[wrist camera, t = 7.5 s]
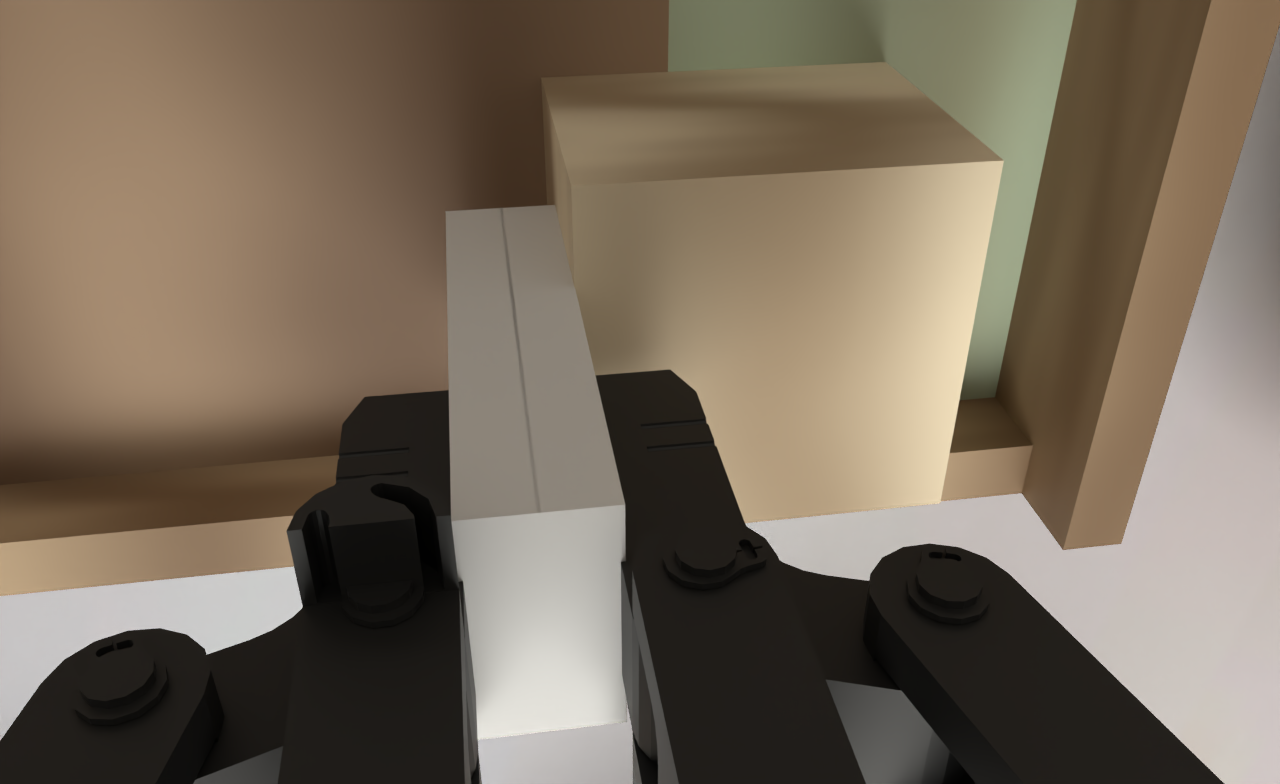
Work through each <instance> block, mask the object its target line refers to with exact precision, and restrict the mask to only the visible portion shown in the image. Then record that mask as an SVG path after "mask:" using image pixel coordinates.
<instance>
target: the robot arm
mask: <svg viewBox="0 0 1280 784" xmlns="http://www.w3.org/2000/svg"><path fill="white" fill-rule="evenodd" d="M446 262H447V319H448V375H449V390H444V391H432V392H419V393H407V394H394V395H382V396H369V397H364V398H363V399H362V401H361V402H360V403H359V404H358V405H357V407H356V408H355V409H354V410H353V412H352V413H351V414H350V415H349V417H348V418H347V419H346V420H345V421H344V423H343V424H342V431H341V439H340V447H339V459H338V463H337V471H336V484H335V485H334V486H332V487H329V488H327V489H325V490H323V491H321V492H319V493H316V494H315V495H314V496H313V497H312V498H310V499H309V500H308V501H307V502H306V503H305V504H303V505H302V506H301V507H300V508H299V509H298V510H297V511H296V512H295V514H294V516H293V518H292V520H291V522H290V524H289V526H288V529H287V531H286V532H287V536H288V541H289V545H290V550H291V554H292V559H293V564H294V568H295V573H296V577H297V582H298V586H299V591H300V595H301V600H302V605H303V608H302V609H301V610H300V611H299V612H298V613H297V614H296V615H295V616H294V617H293V618H291V619H289V620H288V621H286V622H285V623H283V624H282V625H280V626H278V627H277V628H275V629H274V630H272V631H270V632H267V633H265V634H263V635H260V636H258V637H256V638H253V639H251V640H249V641H246V642H243V643H240V644H237V645H234V646H231V647H228V648H225V649H222V650H219V651H217V652H214V653H211V654H208V655H206V652H205V649H204V648H203V647H202V646H200V645H199V644H198V643H197V642H195V641H194V640H193V639H192V638H190V637H189V636H188V635H186V634H182V633H178V632H173V631H169V630H165V629H160V628H159V629H146V630H133V631H126V632H123V633H120V634H117V635H114V636H111V637H108V638H104V639H101V640H98V641H95V642H93V643H92V644H90V645H88V646H87V647H85V648H83V649H82V650H80V651H78V652H77V653H75V654H73V655H72V656H70V657H68V658H67V659H65V660H64V661H63V662H62V663H61V664H60V665H59V666H58V667H57V668H56V669H55V670H54V671H53V672H52V673H51V674H50V675H49V676H48V677H47V678H46V679H45V680H44V681H43V682H42V683H41V685H40V686H39V687H38V689H37V690H36V692H35V693H34V694H33V696H32V697H31V699H30V700H29V701H28V703H27V704H26V706H25V707H24V708H23V710H22V711H21V713H20V714H19V715H18V717H17V718H16V720H15V721H14V722H13V724H12V725H11V727H10V728H9V730H8V731H7V732H6V734H5V735H4V737H3V738H2V739H1V741H0V784H482V782H481V773H480V764H479V756H478V740H482V739H490V738H499V737H507V736H515V735H523V734H532V733H540V732H548V731H557V730H566V729H574V728H582V727H590V726H599V725H607V724H615V723H623V722H627V704H628V709H629V714H630V720H631V725H632V730H633V784H1224V783H1223V782H1222V781H1221V780H1220V779H1219V778H1218V777H1217V776H1216V775H1215V774H1214V773H1213V772H1212V771H1211V770H1210V769H1209V768H1208V767H1206V766H1205V765H1204V764H1203V763H1202V762H1201V761H1200V760H1199V759H1198V758H1197V757H1196V756H1195V755H1194V754H1193V753H1192V752H1191V751H1190V750H1189V749H1188V748H1187V747H1186V746H1185V745H1184V744H1183V743H1182V742H1181V741H1180V740H1179V739H1178V738H1177V737H1176V736H1175V735H1174V734H1173V733H1172V732H1171V731H1170V730H1169V729H1168V728H1166V727H1165V726H1164V725H1163V724H1162V723H1161V722H1160V721H1159V720H1158V719H1157V718H1156V717H1155V716H1154V715H1153V714H1152V713H1151V712H1150V711H1149V710H1148V709H1147V708H1146V707H1145V706H1144V705H1143V704H1142V703H1141V702H1140V701H1139V700H1138V699H1137V698H1136V697H1135V696H1134V695H1133V694H1132V693H1131V692H1130V691H1129V690H1128V689H1127V688H1125V687H1124V686H1123V685H1122V684H1121V683H1120V682H1119V681H1118V680H1117V679H1116V678H1115V677H1114V676H1113V675H1112V674H1111V673H1110V672H1109V671H1108V670H1107V669H1106V668H1105V667H1104V666H1103V665H1102V664H1101V663H1100V662H1099V661H1098V660H1097V659H1096V658H1095V657H1094V656H1093V655H1092V654H1091V653H1090V652H1089V651H1088V650H1087V649H1085V648H1084V647H1083V646H1082V645H1081V644H1080V643H1079V642H1078V641H1077V640H1076V639H1075V638H1074V637H1073V636H1072V635H1071V634H1070V633H1069V632H1068V631H1067V630H1066V629H1065V628H1064V627H1063V626H1062V625H1061V624H1060V623H1059V622H1058V621H1057V620H1056V619H1055V618H1054V617H1053V616H1052V615H1051V614H1050V613H1049V612H1048V611H1047V610H1046V609H1044V608H1043V607H1042V606H1041V605H1040V604H1039V603H1038V602H1037V601H1036V600H1035V599H1034V598H1033V597H1032V596H1031V595H1030V594H1029V593H1028V592H1027V591H1026V590H1025V589H1024V588H1023V587H1022V586H1021V585H1020V584H1019V583H1018V582H1017V581H1016V580H1015V579H1014V578H1013V577H1012V576H1011V575H1010V574H1008V573H1007V572H1006V571H1004V570H1003V569H1001V568H1000V567H999V566H997V565H996V564H994V563H993V562H992V561H990V560H989V559H987V558H985V557H983V556H980V555H978V554H975V553H972V552H970V551H967V550H964V549H962V548H959V547H952V546H944V545H936V544H924V545H917V546H909V547H903V548H901V549H899V550H897V551H895V552H893V553H891V554H889V555H887V556H885V557H883V558H882V559H881V560H880V562H879V563H878V564H877V566H876V567H875V569H874V570H873V571H872V573H871V574H870V581H864V580H857V579H849V578H841V577H834V576H826V575H821V574H817V573H812V572H807V571H803V570H800V569H798V568H795V567H793V566H790V565H788V564H785V563H783V562H781V561H780V560H779V558H778V556H777V555H776V553H775V552H774V550H773V549H772V547H771V546H770V545H769V543H768V542H767V540H766V539H765V538H764V537H762V536H760V535H759V534H757V533H756V532H754V531H753V530H751V529H750V528H748V527H747V526H746V525H745V522H744V519H743V517H742V514H741V511H740V509H739V506H738V503H737V500H736V498H735V495H734V492H733V490H732V487H731V484H730V481H729V479H728V476H727V473H726V471H725V468H724V465H723V463H722V460H721V457H720V454H719V452H718V449H717V446H715V443H714V438H713V435H712V433H711V430H710V427H709V425H708V424H707V422H706V416H705V414H704V411H703V408H702V406H701V403H700V400H699V397H698V395H697V392H696V391H695V390H694V389H693V388H692V387H690V386H689V385H688V384H687V383H686V382H684V381H683V380H682V379H681V378H680V377H679V376H677V375H676V374H675V373H674V372H673V371H671V370H670V369H669V370H656V371H644V372H631V373H619V374H606V375H595V372H594V367H593V363H592V359H591V354H590V350H589V346H588V341H587V337H586V333H585V328H584V324H583V320H582V315H581V311H580V307H579V302H578V298H577V294H576V289H575V287H574V283H573V279H572V275H571V271H570V266H569V262H568V258H567V254H566V249H565V245H564V241H563V237H562V232H561V228H560V224H559V220H558V215H557V211H556V207H555V205H544V206H527V207H510V208H493V209H476V210H459V211H446Z"/></svg>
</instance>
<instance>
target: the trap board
mask: <svg viewBox="0 0 1280 784" xmlns="http://www.w3.org/2000/svg"><path fill="white" fill-rule="evenodd" d="M1279 25H1280V0H0V596H5V595H15V594H25V593H35V592H45V591H54V590H64V589H74V588H84V587H94V586H104V585H114V584H124V583H134V582H144V581H154V580H164V579H174V578H183V577H193V576H203V575H213V574H223V573H233V572H243V571H253V570H263V569H273V568H283V567H293V566H294V564H293V559H292V554H291V550H290V545H289V541H288V536H287V532H286V531H287V529H288V526H289V524H290V522H291V520H292V518H293V516H294V514H295V512H296V511H297V510H298V509H299V508H300V507H301V506H302V505H303V504H305V503H306V502H307V501H308V500H309V499H310V498H312V497H313V496H314V495H315V494H316V493H319V492H321V491H323V490H325V489H327V488H329V487H332V486H334V485H335V484H336V471H337V463H338V459H339V447H340V439H341V431H342V424H343V423H344V421H345V420H346V419H347V418H348V417H349V415H350V414H351V413H352V412H353V410H354V409H355V408H356V407H357V405H358V404H359V403H360V402H361V401H362V399H363V398H364V397H369V396H382V395H394V394H407V393H419V392H432V391H444V390H449V375H448V319H447V262H446V211H459V210H476V209H493V208H510V207H527V206H544V205H547V190H546V169H545V148H544V127H543V106H542V84H541V78H544V77H566V76H588V75H610V74H632V73H653V72H675V71H697V70H719V69H741V68H762V67H784V66H806V65H828V64H850V63H872V62H886V63H888V64H889V65H890V66H891V67H892V68H894V69H895V70H896V71H897V72H898V73H900V74H901V75H902V76H903V77H904V78H906V79H907V80H908V81H909V82H910V83H912V84H913V85H914V86H915V87H916V88H918V89H919V90H920V91H921V92H922V93H924V94H925V95H926V96H927V97H928V98H930V99H931V100H932V101H933V102H934V103H936V104H937V105H938V106H939V107H940V108H942V109H943V110H944V111H945V112H946V113H948V114H949V115H950V116H951V117H952V118H954V119H955V120H956V121H957V122H958V123H960V124H961V125H962V126H963V127H964V128H966V129H967V130H968V131H969V132H970V133H972V134H973V135H974V136H975V137H976V138H978V139H979V140H980V141H981V142H982V143H984V144H985V145H986V146H987V147H988V148H990V149H991V150H992V151H993V152H994V153H996V154H997V155H998V156H999V157H1000V158H1002V159H1003V160H1004V163H1003V168H1002V174H1001V179H1000V184H999V190H998V195H997V201H996V206H995V211H994V217H993V222H992V227H991V233H990V238H989V244H988V249H987V254H986V260H985V265H984V270H983V276H982V281H981V287H980V292H979V297H978V303H977V308H976V313H975V319H974V324H973V330H972V335H971V340H970V346H969V351H968V356H967V362H966V367H965V373H964V378H963V383H962V389H961V394H960V400H959V405H958V410H957V416H956V421H955V426H954V432H953V437H952V443H951V448H950V453H949V459H948V464H947V469H946V475H945V480H944V486H943V491H942V496H941V501H947V500H957V499H967V498H977V497H987V496H997V495H1007V494H1017V493H1022V494H1023V495H1024V497H1025V498H1026V500H1027V501H1028V502H1029V504H1030V505H1031V506H1032V508H1033V509H1034V511H1035V512H1036V513H1037V515H1038V516H1039V517H1040V519H1041V520H1042V522H1043V523H1044V524H1045V526H1046V527H1047V528H1048V530H1049V531H1050V533H1051V534H1052V535H1053V537H1054V538H1055V539H1056V541H1057V542H1058V544H1059V545H1060V546H1061V548H1062V549H1063V550H1067V549H1076V548H1085V547H1094V546H1104V545H1113V544H1121V542H1122V539H1123V536H1124V533H1125V529H1126V526H1127V523H1128V520H1129V516H1130V513H1131V510H1132V506H1133V503H1134V500H1135V497H1136V493H1137V490H1138V487H1139V484H1140V480H1141V477H1142V474H1143V470H1144V467H1145V464H1146V461H1147V457H1148V454H1149V451H1150V448H1151V444H1152V441H1153V438H1154V434H1155V431H1156V428H1157V425H1158V421H1159V418H1160V415H1161V412H1162V408H1163V405H1164V402H1165V398H1166V395H1167V392H1168V389H1169V385H1170V382H1171V379H1172V375H1173V372H1174V369H1175V366H1176V362H1177V359H1178V356H1179V353H1180V349H1181V346H1182V343H1183V339H1184V336H1185V333H1186V330H1187V326H1188V323H1189V320H1190V317H1191V313H1192V310H1193V307H1194V303H1195V300H1196V297H1197V294H1198V290H1199V287H1200V284H1201V281H1202V277H1203V274H1204V271H1205V267H1206V264H1207V261H1208V258H1209V254H1210V251H1211V248H1212V245H1213V241H1214V238H1215V235H1216V231H1217V228H1218V225H1219V222H1220V218H1221V215H1222V212H1223V208H1224V205H1225V202H1226V199H1227V195H1228V192H1229V189H1230V186H1231V182H1232V179H1233V176H1234V172H1235V169H1236V166H1237V163H1238V159H1239V156H1240V153H1241V150H1242V146H1243V143H1244V140H1245V136H1246V133H1247V130H1248V127H1249V123H1250V120H1251V117H1252V114H1253V110H1254V107H1255V104H1256V100H1257V97H1258V94H1259V91H1260V87H1261V84H1262V81H1263V78H1264V74H1265V71H1266V68H1267V64H1268V61H1269V58H1270V55H1271V51H1272V48H1273V45H1274V41H1275V38H1276V35H1277V32H1278V28H1279Z"/></svg>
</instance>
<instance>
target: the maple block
mask: <svg viewBox="0 0 1280 784" xmlns="http://www.w3.org/2000/svg"><path fill="white" fill-rule="evenodd" d="M541 84H542V106H543V127H544V148H545V169H546V190H547V205H555V207H556V211H557V215H558V220H559V224H560V228H561V232H562V237H563V241H564V245H565V249H566V254H567V258H568V262H569V266H570V271H571V275H572V279H573V283H574V287H575V289H576V294H577V298H578V302H579V307H580V311H581V315H582V320H583V324H584V328H585V333H586V337H587V341H588V346H589V350H590V354H591V359H592V363H593V367H594V372H595V375H606V374H619V373H631V372H644V371H656V370H669V369H670V370H671V371H673V372H674V373H675V374H676V375H677V376H679V377H680V378H681V379H682V380H683V381H684V382H686V383H687V384H688V385H689V386H690V387H692V388H693V389H694V390H695V391H696V392H697V395H698V397H699V400H700V403H701V406H702V408H703V411H704V414H705V416H706V422H707V424H708V425H709V427H710V430H711V433H712V435H713V438H714V443H715V446H717V449H718V452H719V454H720V457H721V460H722V463H723V465H724V468H725V471H726V473H727V476H728V479H729V481H730V484H731V487H732V490H733V492H734V495H735V498H736V500H737V503H738V506H739V509H740V511H741V514H742V517H743V519H744V522H745V523H750V522H760V521H770V520H780V519H790V518H800V517H810V516H819V515H829V514H839V513H849V512H859V511H869V510H879V509H889V508H898V507H908V506H918V505H928V504H938V503H940V502H941V496H942V491H943V486H944V480H945V475H946V469H947V464H948V459H949V453H950V448H951V443H952V437H953V432H954V426H955V421H956V416H957V410H958V405H959V400H960V394H961V389H962V383H963V378H964V373H965V367H966V362H967V356H968V351H969V346H970V340H971V335H972V330H973V324H974V319H975V313H976V308H977V303H978V297H979V292H980V287H981V281H982V276H983V270H984V265H985V260H986V254H987V249H988V244H989V238H990V233H991V227H992V222H993V217H994V211H995V206H996V201H997V195H998V190H999V184H1000V179H1001V174H1002V168H1003V163H1004V160H1003V159H1002V158H1000V157H999V156H998V155H997V154H996V153H994V152H993V151H992V150H991V149H990V148H988V147H987V146H986V145H985V144H984V143H982V142H981V141H980V140H979V139H978V138H976V137H975V136H974V135H973V134H972V133H970V132H969V131H968V130H967V129H966V128H964V127H963V126H962V125H961V124H960V123H958V122H957V121H956V120H955V119H954V118H952V117H951V116H950V115H949V114H948V113H946V112H945V111H944V110H943V109H942V108H940V107H939V106H938V105H937V104H936V103H934V102H933V101H932V100H931V99H930V98H928V97H927V96H926V95H925V94H924V93H922V92H921V91H920V90H919V89H918V88H916V87H915V86H914V85H913V84H912V83H910V82H909V81H908V80H907V79H906V78H904V77H903V76H902V75H901V74H900V73H898V72H897V71H896V70H895V69H894V68H892V67H891V66H890V65H889V64H888V63H886V62H872V63H850V64H828V65H806V66H784V67H762V68H741V69H719V70H697V71H675V72H653V73H632V74H610V75H588V76H566V77H544V78H541Z"/></svg>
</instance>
